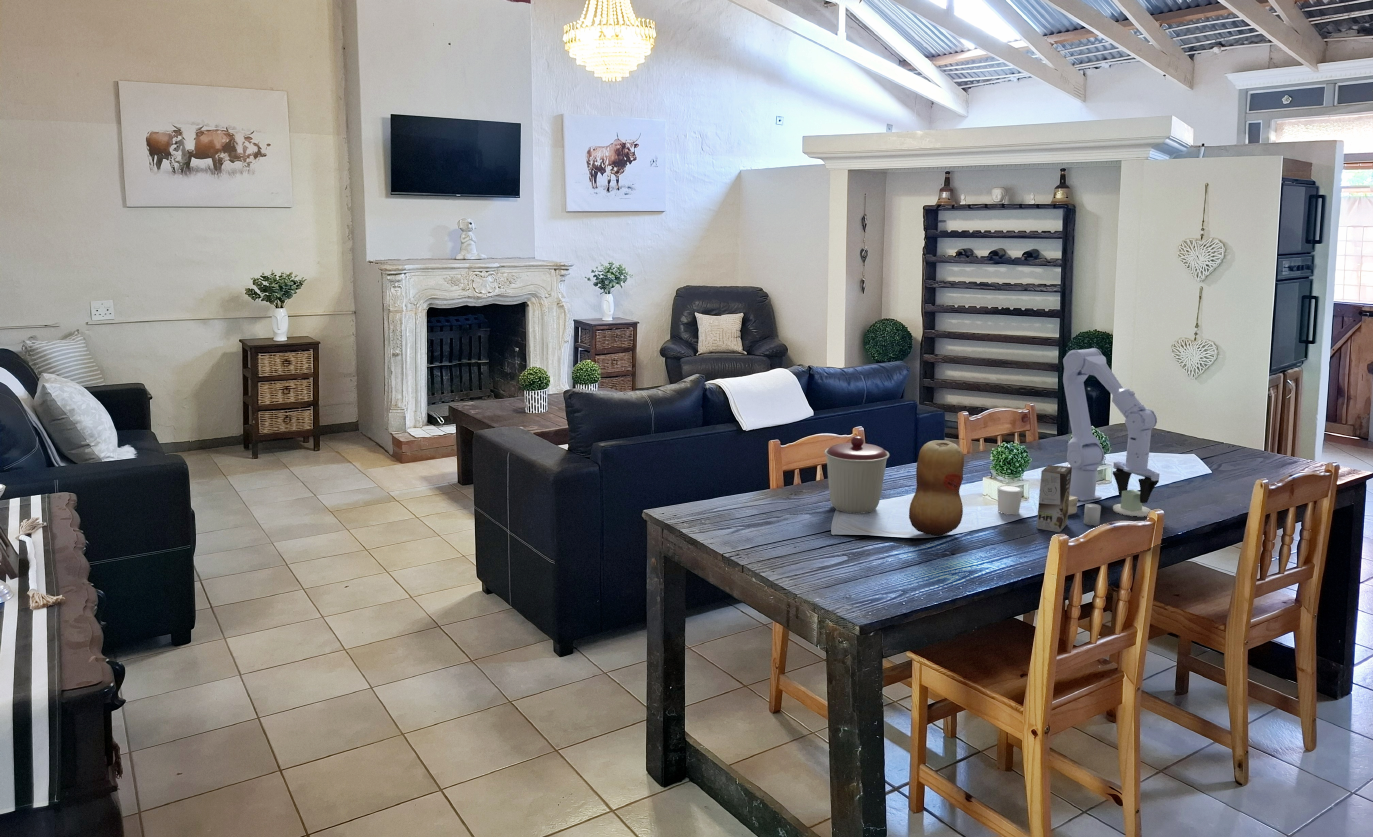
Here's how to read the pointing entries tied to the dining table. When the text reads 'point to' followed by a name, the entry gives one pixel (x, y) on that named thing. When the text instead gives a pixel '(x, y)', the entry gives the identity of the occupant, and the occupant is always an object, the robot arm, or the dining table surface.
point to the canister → (855, 475)
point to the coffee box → (1054, 498)
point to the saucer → (1125, 512)
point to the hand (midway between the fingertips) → (1133, 499)
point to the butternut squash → (938, 489)
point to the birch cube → (1072, 505)
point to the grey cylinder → (1092, 514)
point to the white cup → (1009, 499)
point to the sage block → (1131, 500)
